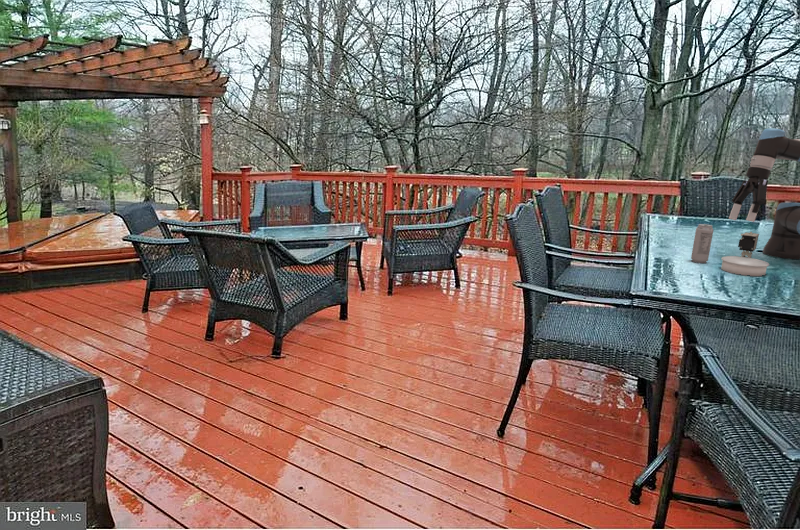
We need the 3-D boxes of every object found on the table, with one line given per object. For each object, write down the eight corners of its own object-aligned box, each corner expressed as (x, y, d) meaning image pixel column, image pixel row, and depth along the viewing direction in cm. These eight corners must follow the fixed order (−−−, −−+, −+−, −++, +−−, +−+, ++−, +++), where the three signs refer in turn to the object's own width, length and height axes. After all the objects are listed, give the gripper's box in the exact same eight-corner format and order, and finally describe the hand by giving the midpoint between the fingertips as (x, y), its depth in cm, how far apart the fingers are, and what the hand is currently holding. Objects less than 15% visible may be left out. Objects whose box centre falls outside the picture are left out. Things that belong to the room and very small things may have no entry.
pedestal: (752, 267, 197) (754, 257, 196) (776, 277, 183) (778, 266, 182) (712, 265, 199) (714, 255, 198) (732, 275, 184) (734, 264, 183)
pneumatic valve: (754, 258, 211) (760, 230, 208) (750, 263, 203) (756, 234, 200) (738, 256, 215) (744, 228, 212) (734, 261, 206) (739, 232, 203)
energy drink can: (703, 260, 207) (709, 224, 203) (710, 263, 201) (717, 226, 197) (687, 259, 207) (694, 223, 203) (694, 263, 201) (701, 226, 198)
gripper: (734, 167, 212) (716, 216, 216) (768, 164, 188) (747, 219, 191) (752, 172, 211) (734, 221, 215) (789, 169, 187) (768, 224, 190)
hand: (740, 220), depth 203 cm, fingers open, 13 cm apart
